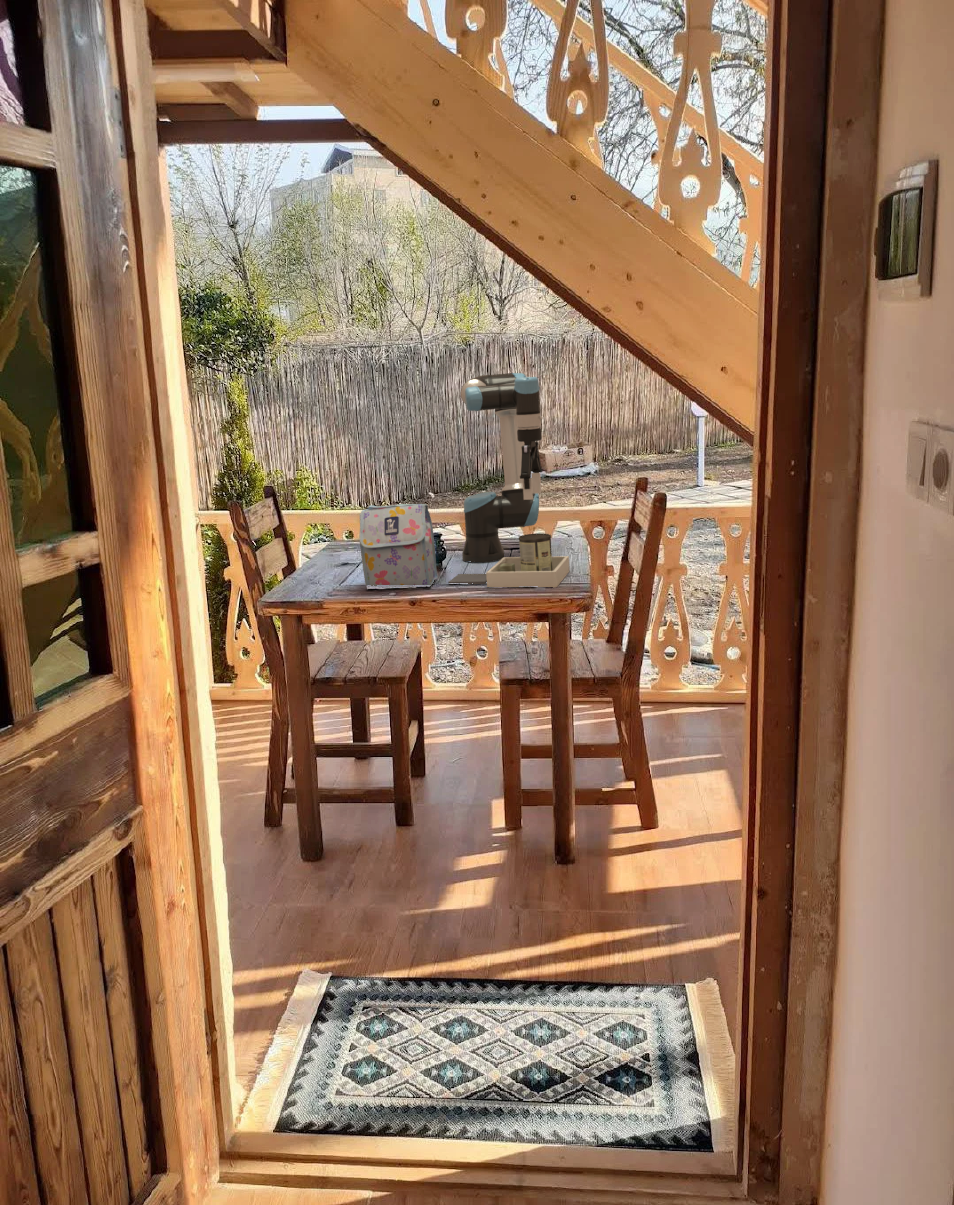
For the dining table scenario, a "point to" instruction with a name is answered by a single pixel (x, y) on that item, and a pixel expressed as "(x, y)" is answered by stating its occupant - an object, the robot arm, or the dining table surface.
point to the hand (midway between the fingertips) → (532, 496)
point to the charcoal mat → (470, 579)
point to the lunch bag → (397, 545)
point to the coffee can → (535, 552)
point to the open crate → (528, 574)
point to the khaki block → (507, 567)
